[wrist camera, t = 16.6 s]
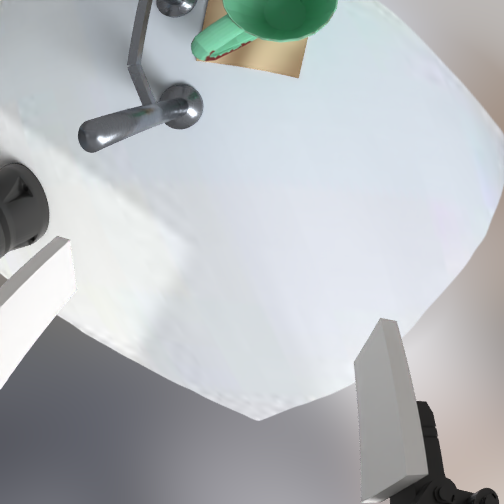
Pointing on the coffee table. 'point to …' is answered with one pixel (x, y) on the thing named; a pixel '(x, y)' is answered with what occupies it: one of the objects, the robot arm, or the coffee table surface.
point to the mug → (261, 24)
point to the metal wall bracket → (145, 92)
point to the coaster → (259, 49)
